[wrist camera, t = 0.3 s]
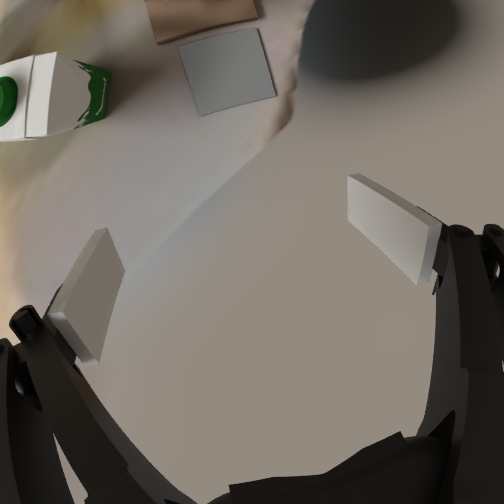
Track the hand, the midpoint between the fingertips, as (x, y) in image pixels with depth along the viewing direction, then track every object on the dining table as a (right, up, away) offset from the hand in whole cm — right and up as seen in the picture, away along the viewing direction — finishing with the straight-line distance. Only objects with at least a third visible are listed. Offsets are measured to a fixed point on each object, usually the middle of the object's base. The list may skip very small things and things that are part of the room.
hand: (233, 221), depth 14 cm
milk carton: (-22, +20, +15) cm, 34 cm away
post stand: (-7, +35, +10) cm, 37 cm away
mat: (-2, +23, +18) cm, 29 cm away
